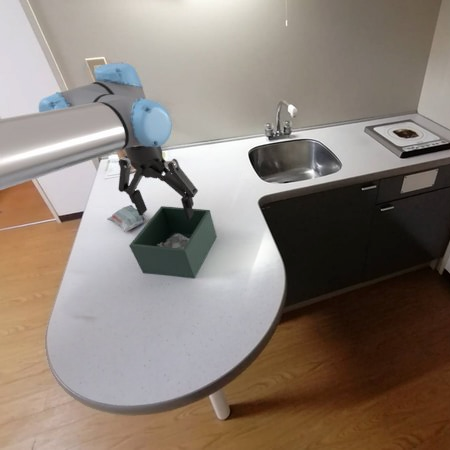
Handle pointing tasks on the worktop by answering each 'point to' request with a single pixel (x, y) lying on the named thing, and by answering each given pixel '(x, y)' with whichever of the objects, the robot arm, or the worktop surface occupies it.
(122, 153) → the brown tapered cone
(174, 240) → the egg carton
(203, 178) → the worktop surface
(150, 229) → the trash bin
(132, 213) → the packaged food
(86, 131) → the robot arm
